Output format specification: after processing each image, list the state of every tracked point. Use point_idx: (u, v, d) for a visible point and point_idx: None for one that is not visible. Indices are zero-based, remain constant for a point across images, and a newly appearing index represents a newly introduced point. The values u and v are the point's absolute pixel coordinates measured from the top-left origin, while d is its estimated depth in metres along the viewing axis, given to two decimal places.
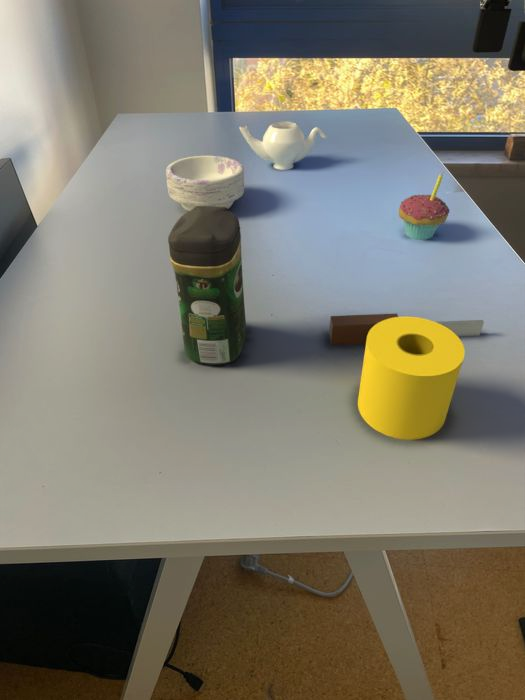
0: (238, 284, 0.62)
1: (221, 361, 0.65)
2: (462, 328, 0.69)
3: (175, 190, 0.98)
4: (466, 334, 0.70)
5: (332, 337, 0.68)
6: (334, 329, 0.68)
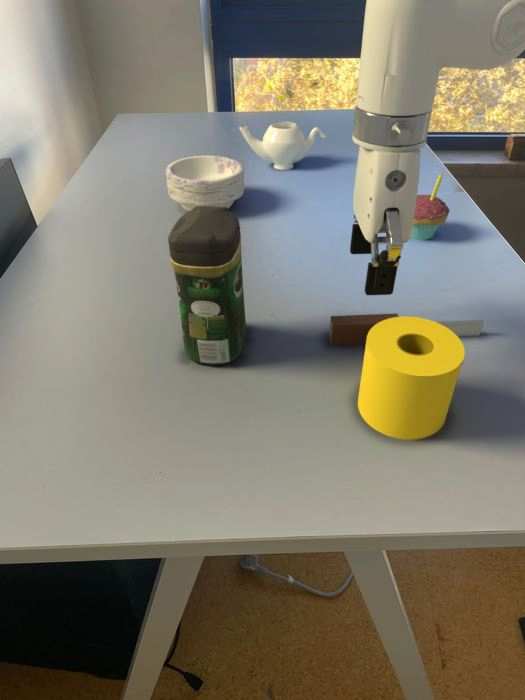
0: (238, 284, 0.62)
1: (221, 361, 0.65)
2: (462, 328, 0.69)
3: (175, 190, 0.98)
4: (466, 334, 0.70)
5: (332, 337, 0.68)
6: (334, 329, 0.68)
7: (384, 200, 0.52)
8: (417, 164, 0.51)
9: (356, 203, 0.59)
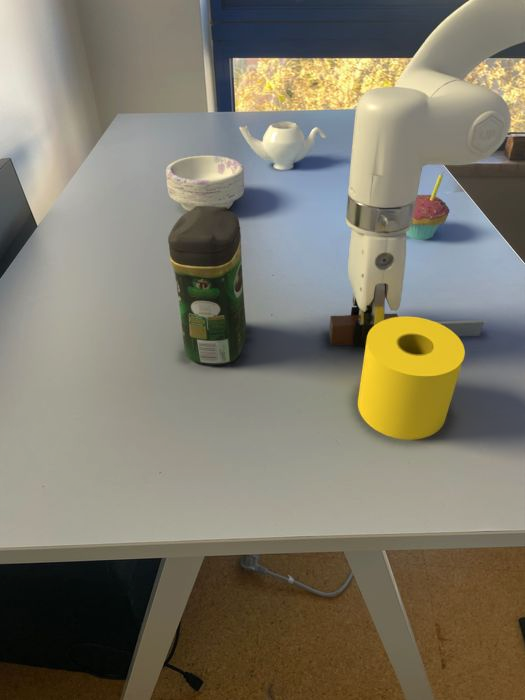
0: (238, 284, 0.62)
1: (221, 361, 0.65)
2: (462, 328, 0.69)
3: (175, 190, 0.98)
4: (466, 334, 0.70)
5: (332, 337, 0.68)
6: (334, 329, 0.68)
7: (374, 277, 0.58)
8: (403, 247, 0.57)
9: (350, 272, 0.65)
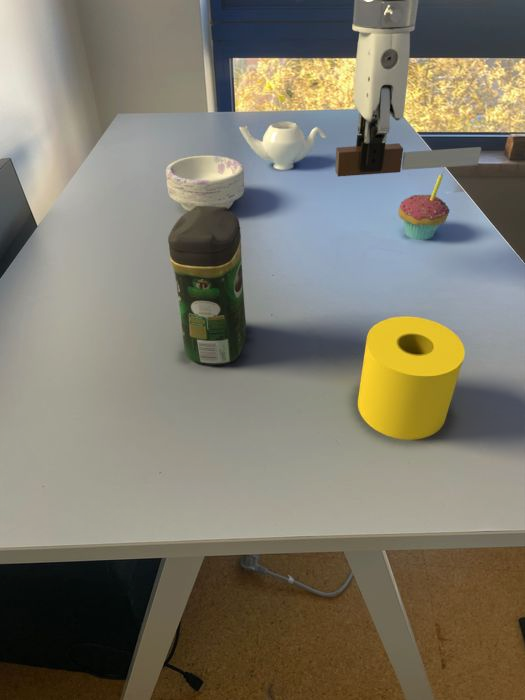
0: (238, 284, 0.62)
1: (221, 361, 0.65)
2: (461, 156, 0.73)
3: (175, 190, 0.98)
4: (465, 163, 0.74)
5: (338, 166, 0.73)
6: (340, 157, 0.72)
7: (380, 78, 0.62)
8: (407, 44, 0.61)
9: (356, 92, 0.69)
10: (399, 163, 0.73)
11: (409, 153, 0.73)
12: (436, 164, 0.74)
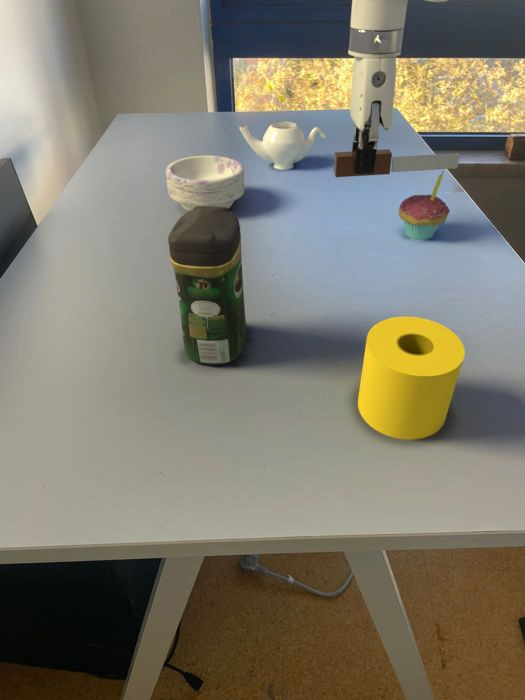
0: (238, 284, 0.62)
1: (221, 361, 0.65)
2: (442, 160, 0.85)
3: (175, 190, 0.98)
4: (446, 166, 0.86)
5: (336, 169, 0.84)
6: (338, 161, 0.84)
7: (371, 95, 0.74)
8: (393, 67, 0.72)
9: (352, 106, 0.81)
10: (388, 166, 0.84)
11: (397, 158, 0.85)
12: (421, 167, 0.86)
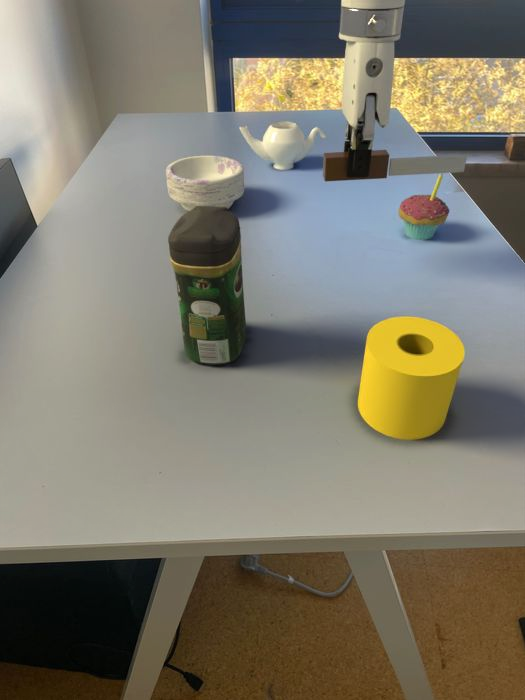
0: (238, 284, 0.62)
1: (221, 361, 0.65)
2: (447, 163, 0.74)
3: (175, 190, 0.98)
4: (451, 170, 0.75)
5: (325, 172, 0.74)
6: (327, 163, 0.73)
7: (365, 86, 0.63)
8: (392, 53, 0.61)
9: (343, 99, 0.70)
10: (385, 169, 0.74)
11: (395, 159, 0.74)
12: (422, 170, 0.75)
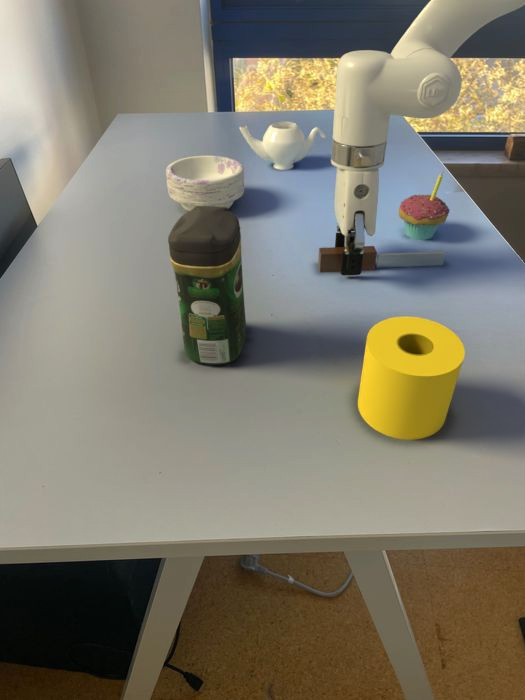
0: (238, 284, 0.62)
1: (221, 361, 0.65)
2: (428, 258, 0.84)
3: (175, 190, 0.98)
4: (431, 264, 0.85)
5: (320, 265, 0.83)
6: (322, 258, 0.82)
7: (354, 205, 0.73)
8: (376, 180, 0.71)
9: (336, 207, 0.80)
10: (373, 263, 0.83)
11: (382, 255, 0.83)
12: (406, 264, 0.85)
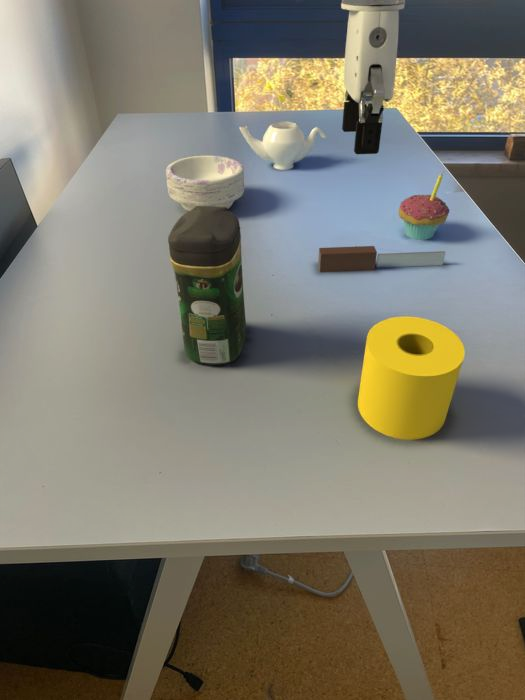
0: (238, 284, 0.62)
1: (221, 361, 0.65)
2: (428, 258, 0.84)
3: (175, 190, 0.98)
4: (431, 264, 0.85)
5: (320, 265, 0.83)
6: (322, 258, 0.82)
7: (368, 57, 0.61)
8: (396, 22, 0.60)
9: (346, 74, 0.68)
10: (373, 263, 0.83)
11: (382, 255, 0.83)
12: (406, 264, 0.85)
